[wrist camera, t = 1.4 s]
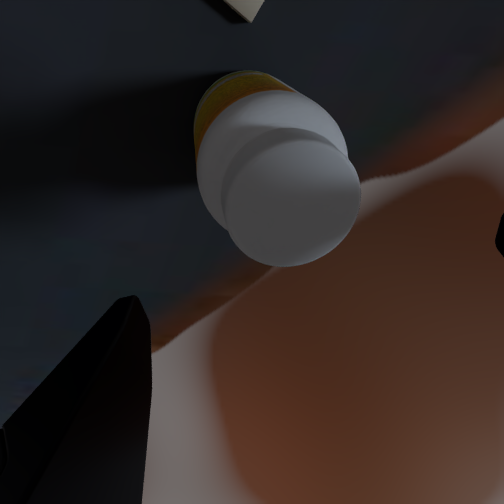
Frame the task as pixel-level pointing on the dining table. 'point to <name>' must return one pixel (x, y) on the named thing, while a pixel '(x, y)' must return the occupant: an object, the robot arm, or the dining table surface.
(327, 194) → the supplement bottle
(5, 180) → the dining table surface
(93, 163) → the dining table surface
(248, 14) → the collar
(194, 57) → the dining table surface
